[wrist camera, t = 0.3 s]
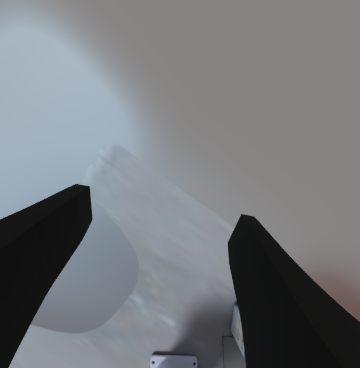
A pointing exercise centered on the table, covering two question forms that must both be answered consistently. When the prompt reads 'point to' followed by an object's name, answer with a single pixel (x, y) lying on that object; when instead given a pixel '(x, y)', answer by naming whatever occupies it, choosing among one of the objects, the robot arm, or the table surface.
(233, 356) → the mat
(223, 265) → the table surface
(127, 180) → the table surface
